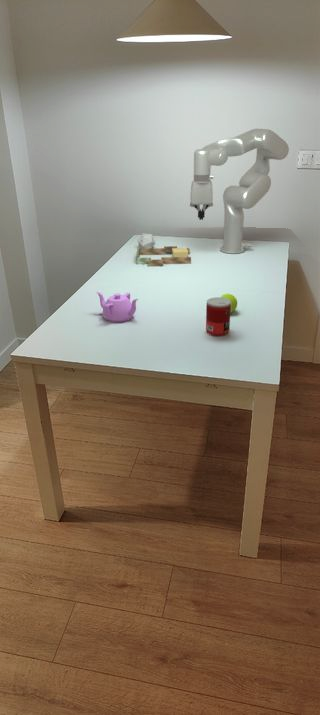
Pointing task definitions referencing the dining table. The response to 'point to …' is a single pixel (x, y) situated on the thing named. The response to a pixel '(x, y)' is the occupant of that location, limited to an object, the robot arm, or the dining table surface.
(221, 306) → the canned food
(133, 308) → the teapot
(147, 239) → the die
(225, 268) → the dining table surface
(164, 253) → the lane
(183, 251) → the block
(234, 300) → the tennis ball
